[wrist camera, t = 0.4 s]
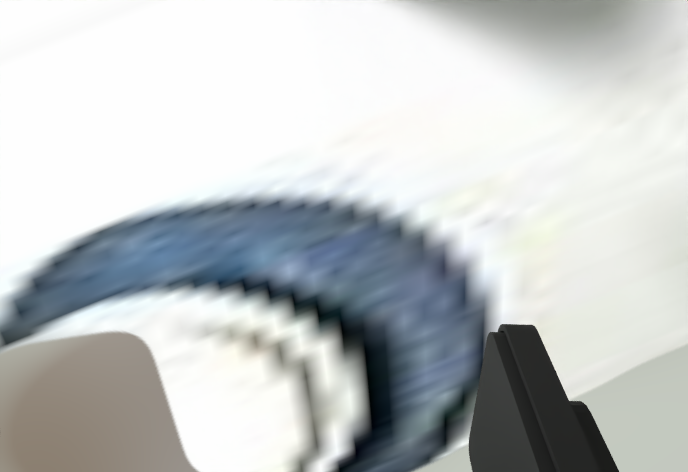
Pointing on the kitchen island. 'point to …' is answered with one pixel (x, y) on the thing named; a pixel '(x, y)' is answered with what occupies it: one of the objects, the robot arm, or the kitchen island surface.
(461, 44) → the kitchen island surface
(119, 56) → the kitchen island surface
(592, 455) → the robot arm
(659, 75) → the kitchen island surface
